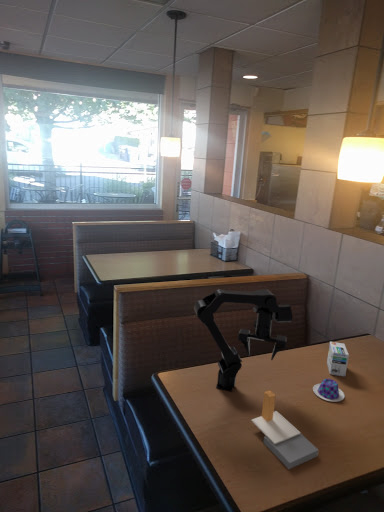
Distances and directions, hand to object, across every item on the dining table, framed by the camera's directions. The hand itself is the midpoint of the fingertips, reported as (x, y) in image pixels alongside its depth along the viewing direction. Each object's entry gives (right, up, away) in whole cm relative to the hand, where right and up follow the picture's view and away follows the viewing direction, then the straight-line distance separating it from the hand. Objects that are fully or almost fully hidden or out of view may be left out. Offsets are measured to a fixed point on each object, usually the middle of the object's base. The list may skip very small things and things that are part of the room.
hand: (260, 357), depth 153 cm
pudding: (+27, -15, 0) cm, 31 cm away
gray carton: (+4, -21, -31) cm, 38 cm away
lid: (+1, -17, -25) cm, 30 cm away
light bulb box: (+37, -10, +17) cm, 42 cm away
